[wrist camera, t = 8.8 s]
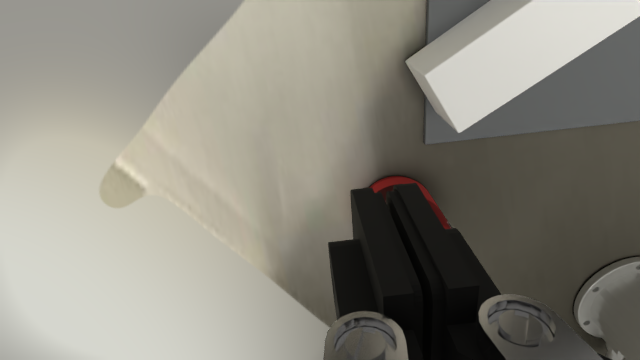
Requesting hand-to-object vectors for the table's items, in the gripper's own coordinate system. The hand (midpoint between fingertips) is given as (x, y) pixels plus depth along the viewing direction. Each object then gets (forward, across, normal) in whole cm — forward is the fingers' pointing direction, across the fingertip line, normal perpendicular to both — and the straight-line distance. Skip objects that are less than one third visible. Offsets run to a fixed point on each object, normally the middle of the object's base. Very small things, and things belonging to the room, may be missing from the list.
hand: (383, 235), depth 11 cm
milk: (+25, -9, +4) cm, 27 cm away
